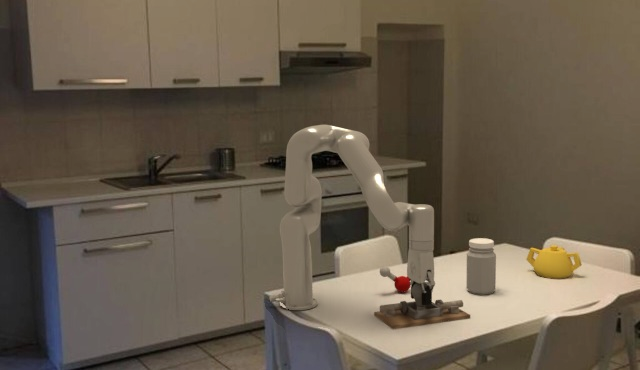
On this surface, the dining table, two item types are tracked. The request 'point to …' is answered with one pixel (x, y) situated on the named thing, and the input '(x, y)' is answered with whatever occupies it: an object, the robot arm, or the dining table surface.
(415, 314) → the shaft bench
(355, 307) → the dining table surface
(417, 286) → the light bulb
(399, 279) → the molecular model
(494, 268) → the jar
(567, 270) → the yellow sugar bowl
